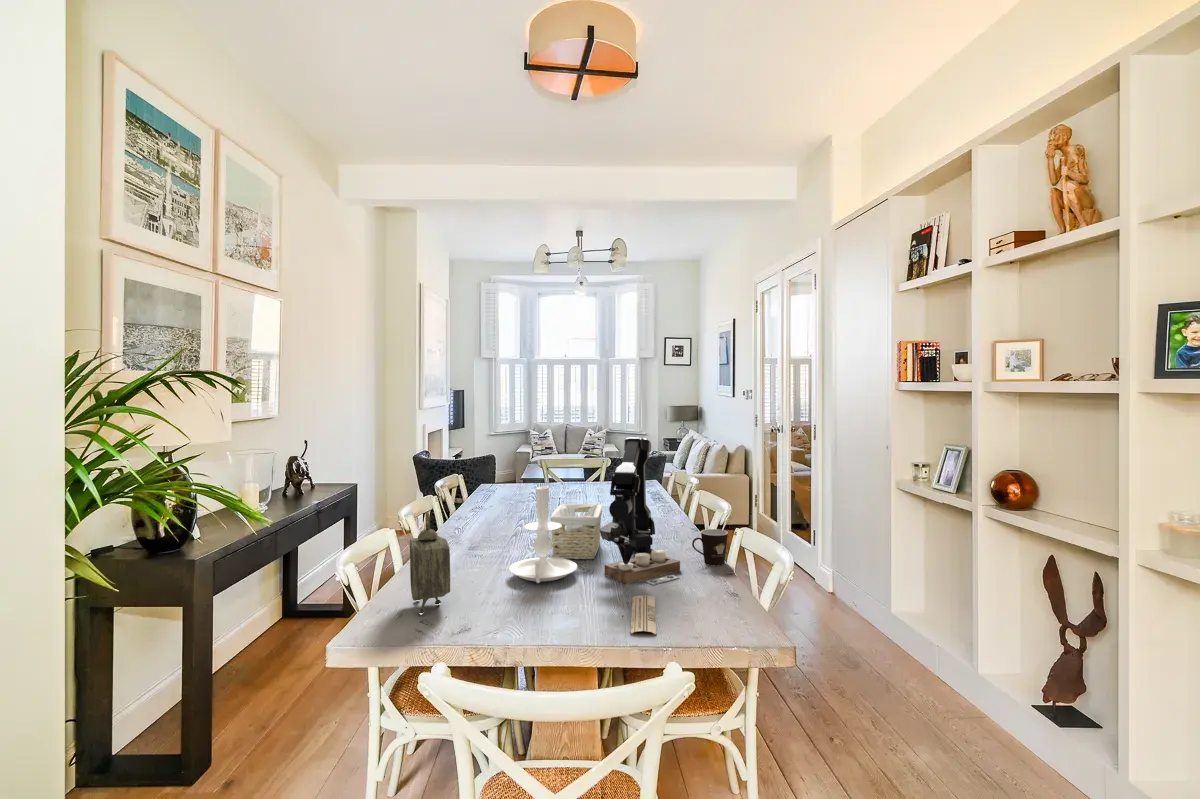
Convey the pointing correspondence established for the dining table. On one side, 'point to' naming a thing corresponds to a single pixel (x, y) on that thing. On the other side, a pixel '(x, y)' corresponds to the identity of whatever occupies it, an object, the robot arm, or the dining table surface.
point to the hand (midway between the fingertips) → (625, 563)
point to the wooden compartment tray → (641, 570)
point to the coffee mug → (713, 546)
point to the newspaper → (643, 614)
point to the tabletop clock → (429, 566)
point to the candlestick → (542, 548)
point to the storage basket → (576, 531)
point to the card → (661, 579)
